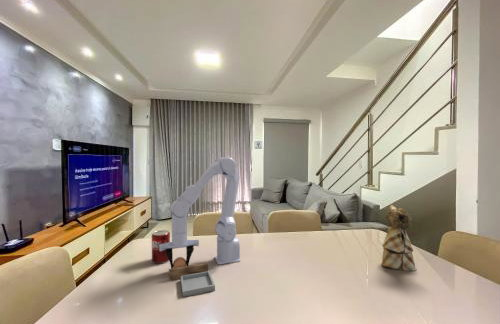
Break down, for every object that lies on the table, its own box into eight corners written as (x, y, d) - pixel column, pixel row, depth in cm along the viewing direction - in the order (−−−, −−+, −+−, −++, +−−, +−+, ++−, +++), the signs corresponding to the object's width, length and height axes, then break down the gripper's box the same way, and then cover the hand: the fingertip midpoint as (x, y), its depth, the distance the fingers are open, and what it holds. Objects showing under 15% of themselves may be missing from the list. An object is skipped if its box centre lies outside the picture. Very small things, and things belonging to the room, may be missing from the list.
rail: (207, 271, 86) (207, 262, 86) (208, 273, 85) (208, 264, 85) (169, 278, 81) (168, 269, 81) (169, 280, 80) (168, 270, 80)
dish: (209, 275, 83) (209, 270, 83) (215, 290, 74) (215, 285, 74) (180, 280, 80) (180, 276, 80) (182, 297, 70) (182, 291, 70)
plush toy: (428, 263, 90) (411, 201, 94) (424, 277, 80) (405, 207, 84) (388, 260, 100) (374, 204, 103) (381, 273, 90) (365, 210, 93)
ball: (185, 266, 90) (185, 254, 90) (187, 272, 86) (186, 259, 86) (172, 268, 89) (172, 256, 89) (173, 274, 84) (173, 261, 84)
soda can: (163, 265, 92) (163, 235, 92) (148, 263, 93) (147, 234, 93) (173, 257, 99) (173, 230, 99) (158, 256, 100) (158, 229, 100)
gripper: (197, 226, 93) (197, 259, 94) (159, 230, 88) (159, 264, 88) (199, 231, 87) (199, 266, 87) (159, 236, 82) (159, 273, 82)
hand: (179, 266), depth 87 cm, fingers open, 5 cm apart
